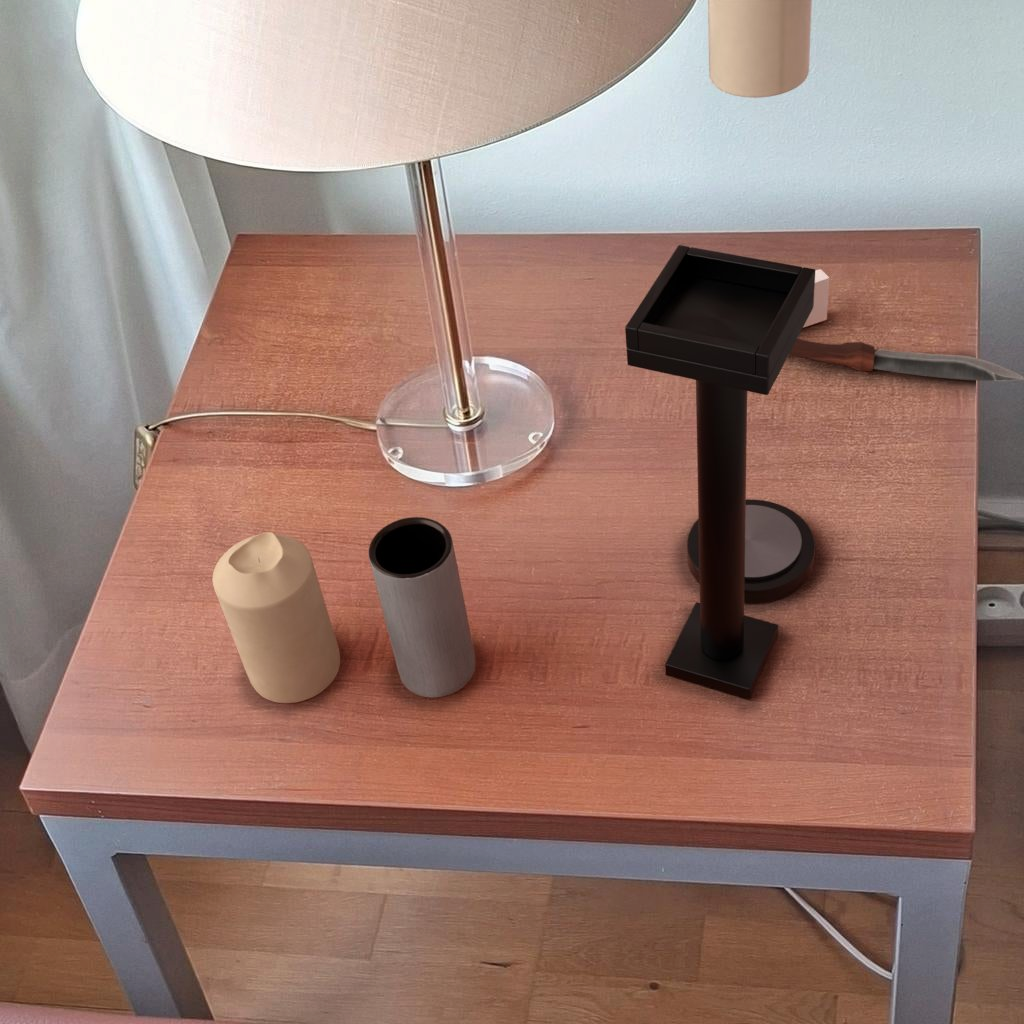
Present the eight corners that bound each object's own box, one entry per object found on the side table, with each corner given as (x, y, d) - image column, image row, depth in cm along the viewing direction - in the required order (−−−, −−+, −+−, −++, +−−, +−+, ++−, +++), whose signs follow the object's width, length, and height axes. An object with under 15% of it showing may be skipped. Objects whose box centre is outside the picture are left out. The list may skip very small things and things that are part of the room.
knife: (1026, 398, 94) (1026, 372, 96) (1031, 379, 93) (1031, 353, 95) (748, 363, 98) (754, 339, 100) (750, 345, 97) (756, 320, 99)
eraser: (827, 319, 101) (829, 277, 98) (766, 341, 100) (767, 298, 97) (818, 310, 102) (820, 268, 99) (758, 331, 101) (758, 289, 98)
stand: (796, 629, 82) (815, 268, 64) (759, 715, 78) (768, 356, 60) (688, 599, 84) (678, 244, 66) (646, 681, 80) (624, 327, 62)
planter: (488, 649, 83) (466, 526, 76) (455, 707, 80) (428, 586, 73) (420, 629, 85) (392, 507, 77) (385, 686, 82) (352, 565, 75)
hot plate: (830, 529, 87) (831, 512, 86) (791, 618, 82) (792, 601, 81) (712, 500, 90) (712, 483, 89) (668, 584, 85) (668, 567, 84)
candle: (285, 620, 86) (246, 503, 79) (359, 649, 84) (326, 532, 77) (230, 685, 83) (184, 570, 76) (305, 717, 81) (265, 602, 74)
